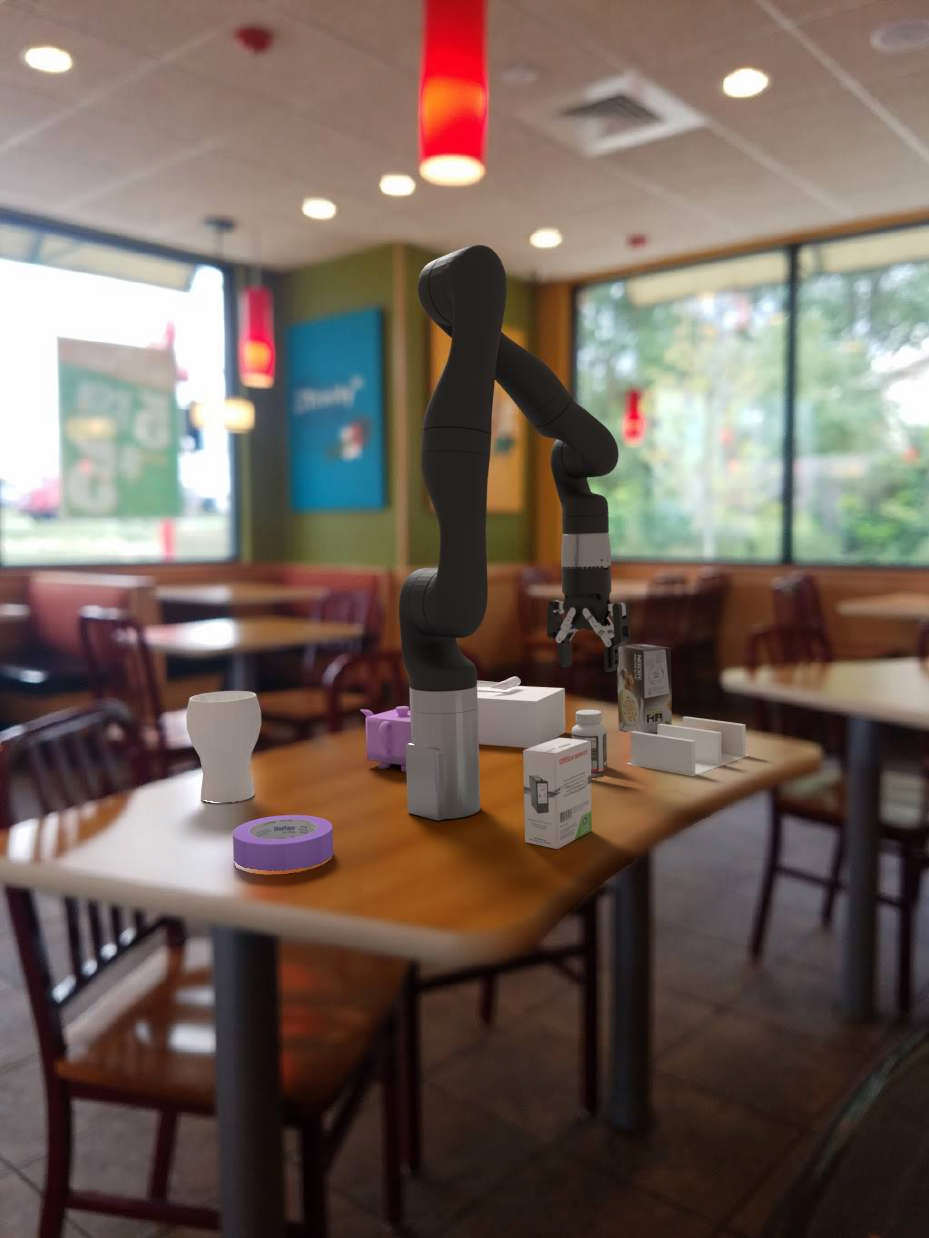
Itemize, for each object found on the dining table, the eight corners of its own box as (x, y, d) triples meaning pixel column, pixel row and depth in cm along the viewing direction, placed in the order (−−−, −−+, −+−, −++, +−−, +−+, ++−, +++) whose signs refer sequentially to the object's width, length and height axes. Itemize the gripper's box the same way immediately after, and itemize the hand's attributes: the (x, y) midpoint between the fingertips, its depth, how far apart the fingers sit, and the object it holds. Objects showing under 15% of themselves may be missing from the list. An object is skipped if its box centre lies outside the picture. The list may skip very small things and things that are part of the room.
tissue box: (536, 750, 168) (535, 688, 167) (411, 740, 179) (409, 681, 178) (565, 733, 181) (564, 676, 180) (447, 725, 192) (445, 670, 191)
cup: (277, 788, 146) (272, 690, 144) (242, 808, 136) (237, 703, 134) (214, 785, 149) (209, 689, 147) (176, 804, 138) (170, 701, 137)
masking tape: (305, 837, 123) (304, 808, 122) (351, 861, 113) (350, 829, 113) (218, 858, 116) (216, 826, 115) (259, 884, 106) (258, 851, 106)
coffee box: (673, 734, 176) (673, 647, 175) (645, 738, 174) (644, 650, 172) (644, 725, 185) (643, 642, 183) (616, 729, 182) (615, 645, 181)
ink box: (560, 825, 124) (558, 735, 123) (593, 831, 121) (592, 739, 120) (523, 843, 118) (521, 748, 116) (557, 850, 115) (556, 753, 113)
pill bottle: (589, 767, 154) (588, 707, 153) (614, 773, 149) (613, 711, 148) (565, 773, 150) (564, 712, 149) (590, 780, 146) (589, 716, 145)
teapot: (474, 762, 159) (472, 703, 158) (427, 780, 148) (425, 717, 148) (388, 750, 169) (387, 695, 168) (339, 767, 158) (336, 708, 158)
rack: (693, 782, 143) (692, 742, 142) (626, 769, 151) (625, 732, 151) (749, 761, 155) (749, 724, 154) (685, 750, 163) (684, 715, 163)
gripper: (534, 564, 149) (537, 668, 151) (609, 564, 139) (611, 676, 141) (565, 562, 154) (567, 662, 156) (639, 562, 144) (640, 669, 146)
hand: (588, 668), depth 148 cm, fingers open, 8 cm apart
